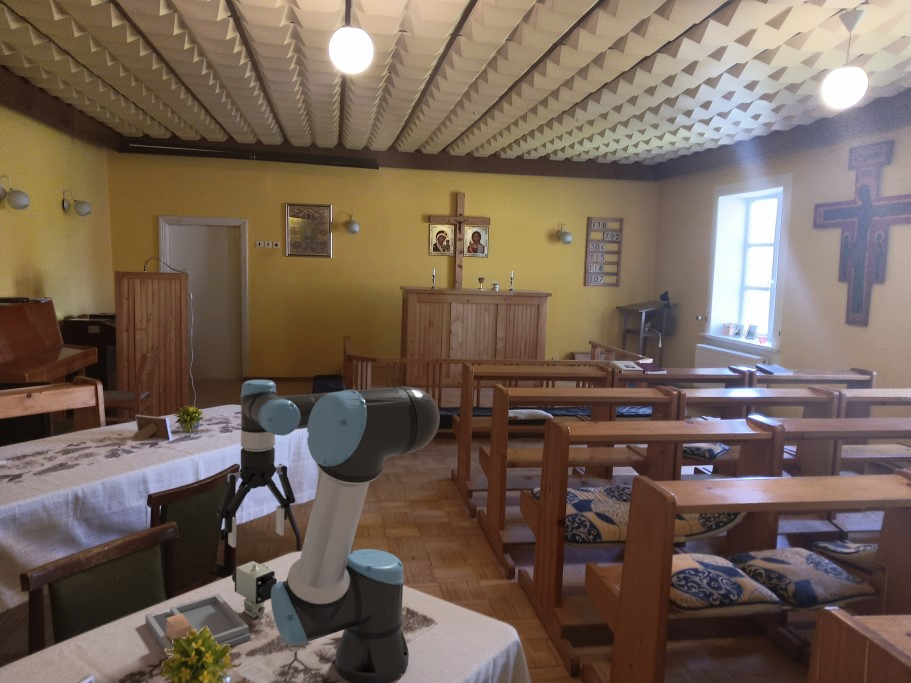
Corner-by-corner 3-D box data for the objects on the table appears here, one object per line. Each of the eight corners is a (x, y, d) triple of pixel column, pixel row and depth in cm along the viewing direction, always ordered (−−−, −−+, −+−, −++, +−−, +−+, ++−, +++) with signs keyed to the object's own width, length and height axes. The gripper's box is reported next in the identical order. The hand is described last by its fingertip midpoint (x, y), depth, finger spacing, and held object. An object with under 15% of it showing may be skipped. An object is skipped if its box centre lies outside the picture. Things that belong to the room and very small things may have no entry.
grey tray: (250, 639, 137) (250, 624, 137) (173, 666, 126) (173, 649, 126) (216, 602, 152) (216, 587, 152) (145, 623, 141) (145, 608, 141)
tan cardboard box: (191, 645, 132) (191, 625, 131) (175, 651, 130) (175, 630, 129) (182, 633, 136) (182, 613, 136) (166, 638, 134) (166, 618, 134)
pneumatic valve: (260, 626, 142) (261, 575, 141) (230, 608, 149) (231, 560, 148) (280, 616, 147) (281, 567, 146) (250, 599, 154) (251, 552, 153)
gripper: (296, 437, 155) (295, 523, 157) (200, 450, 139) (200, 545, 142) (311, 443, 149) (309, 533, 151) (212, 458, 134) (212, 557, 136)
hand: (256, 539), depth 146 cm, fingers open, 11 cm apart
